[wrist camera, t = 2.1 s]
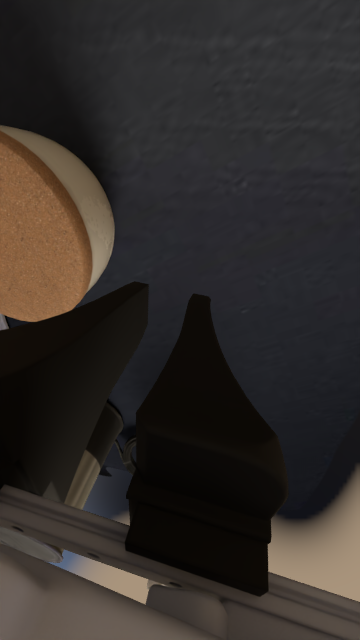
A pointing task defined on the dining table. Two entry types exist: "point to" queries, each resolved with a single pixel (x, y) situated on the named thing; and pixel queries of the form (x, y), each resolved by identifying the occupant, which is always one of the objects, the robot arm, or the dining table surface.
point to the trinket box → (48, 227)
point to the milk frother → (80, 481)
